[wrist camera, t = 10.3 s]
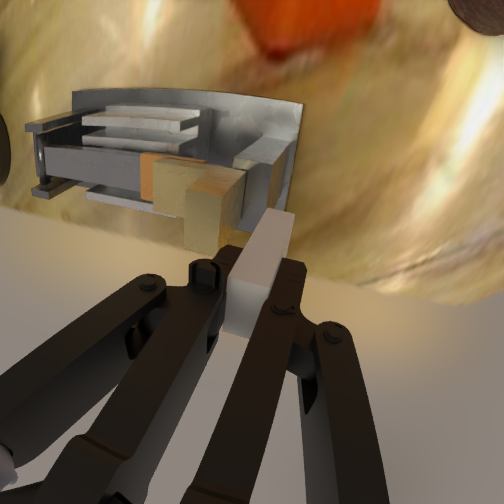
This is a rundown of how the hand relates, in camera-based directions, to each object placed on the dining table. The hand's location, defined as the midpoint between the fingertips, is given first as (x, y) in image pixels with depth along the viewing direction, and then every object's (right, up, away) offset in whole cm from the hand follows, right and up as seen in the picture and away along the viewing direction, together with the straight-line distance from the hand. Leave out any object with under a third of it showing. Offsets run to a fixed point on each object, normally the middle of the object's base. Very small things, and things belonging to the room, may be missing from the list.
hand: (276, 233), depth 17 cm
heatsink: (-10, +10, +14) cm, 20 cm away
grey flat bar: (-13, +6, +7) cm, 16 cm away
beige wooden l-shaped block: (-5, +3, +4) cm, 7 cm away
